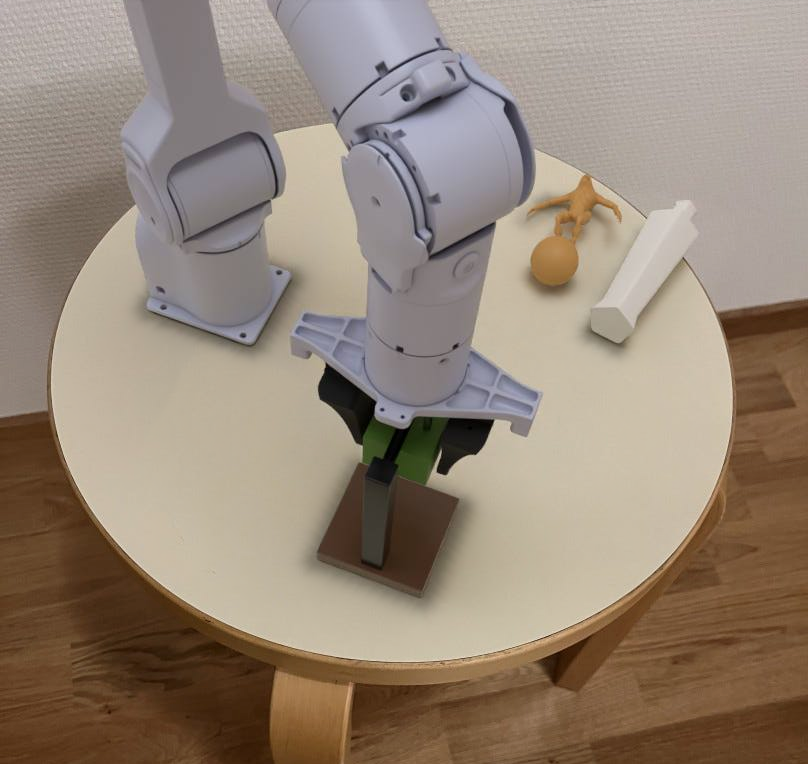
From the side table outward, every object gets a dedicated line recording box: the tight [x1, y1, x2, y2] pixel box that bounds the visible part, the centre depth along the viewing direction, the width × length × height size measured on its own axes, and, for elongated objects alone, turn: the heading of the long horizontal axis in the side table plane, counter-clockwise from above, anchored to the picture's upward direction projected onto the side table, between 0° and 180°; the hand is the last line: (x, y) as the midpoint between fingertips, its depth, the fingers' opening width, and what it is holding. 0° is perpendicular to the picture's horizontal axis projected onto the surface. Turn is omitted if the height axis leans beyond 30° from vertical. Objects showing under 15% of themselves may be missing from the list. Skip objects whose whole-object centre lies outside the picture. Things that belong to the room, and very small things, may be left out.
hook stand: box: [316, 417, 460, 598], centre depth 60 cm, size 8×9×14 cm
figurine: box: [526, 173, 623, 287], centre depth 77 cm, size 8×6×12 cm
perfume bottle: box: [590, 199, 700, 344], centre depth 76 cm, size 5×4×15 cm
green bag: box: [361, 413, 449, 487], centre depth 56 cm, size 4×4×5 cm
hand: (405, 447), depth 59 cm, fingers open, 5 cm apart
